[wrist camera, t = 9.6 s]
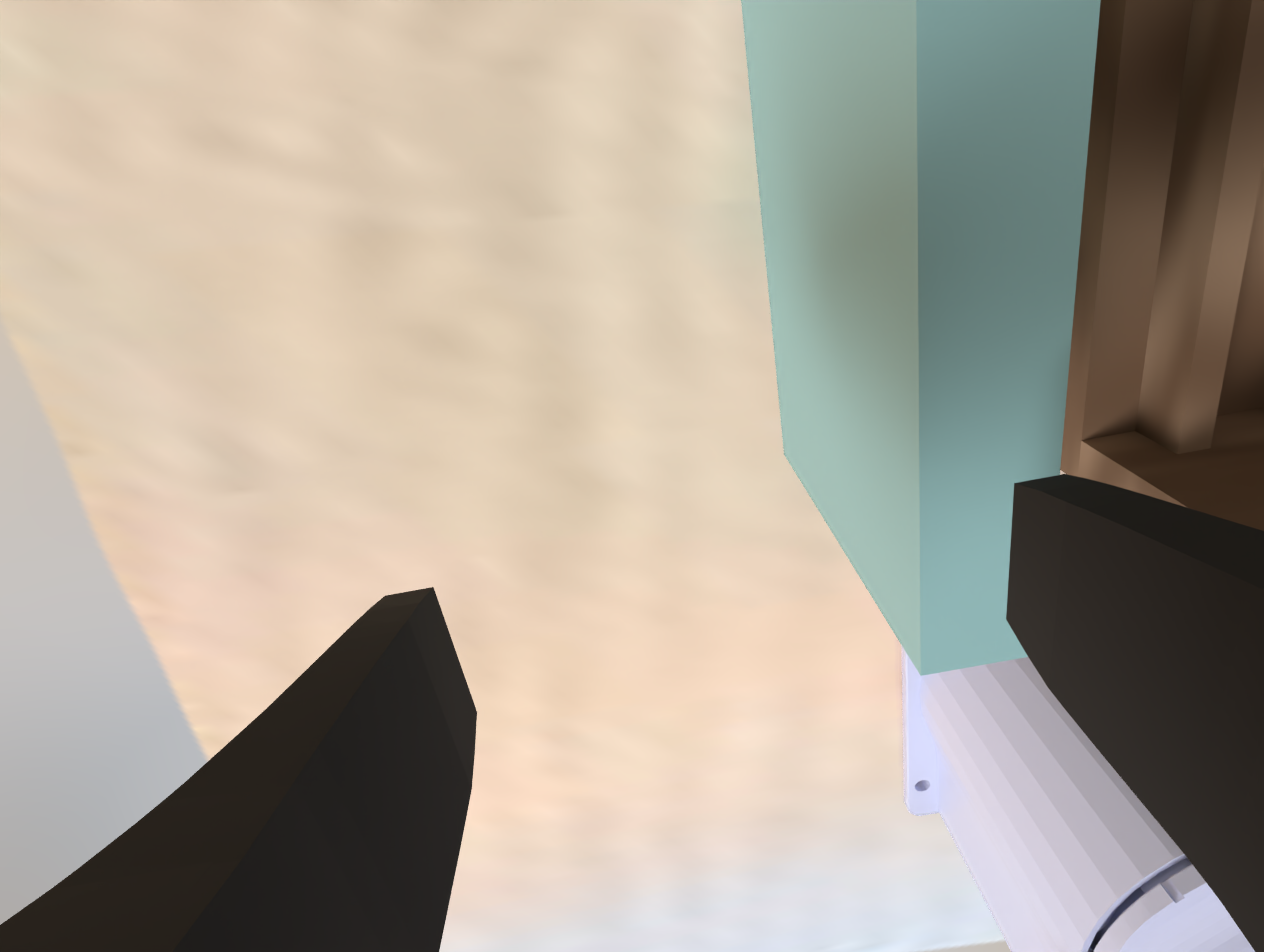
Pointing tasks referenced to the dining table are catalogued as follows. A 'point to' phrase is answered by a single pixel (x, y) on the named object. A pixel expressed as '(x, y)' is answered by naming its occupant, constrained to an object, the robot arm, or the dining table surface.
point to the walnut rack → (1173, 260)
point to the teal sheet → (923, 282)
